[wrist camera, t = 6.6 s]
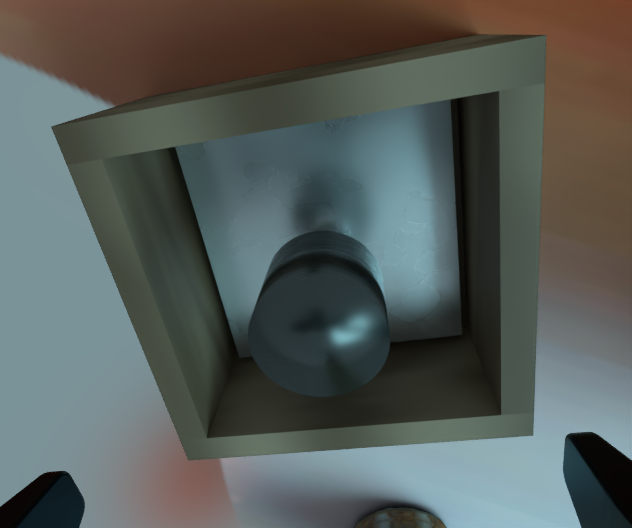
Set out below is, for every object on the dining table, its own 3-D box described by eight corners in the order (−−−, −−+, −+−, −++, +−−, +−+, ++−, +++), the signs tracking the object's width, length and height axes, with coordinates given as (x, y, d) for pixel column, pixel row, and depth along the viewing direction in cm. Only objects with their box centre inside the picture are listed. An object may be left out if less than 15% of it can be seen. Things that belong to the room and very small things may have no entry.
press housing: (479, 34, 16) (546, 35, 10) (486, 331, 21) (532, 435, 15) (144, 97, 17) (51, 126, 12) (227, 357, 22) (188, 460, 17)
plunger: (445, 89, 15) (507, 126, 9) (457, 323, 19) (507, 458, 13) (180, 136, 17) (81, 195, 10) (243, 346, 20) (197, 479, 14)
